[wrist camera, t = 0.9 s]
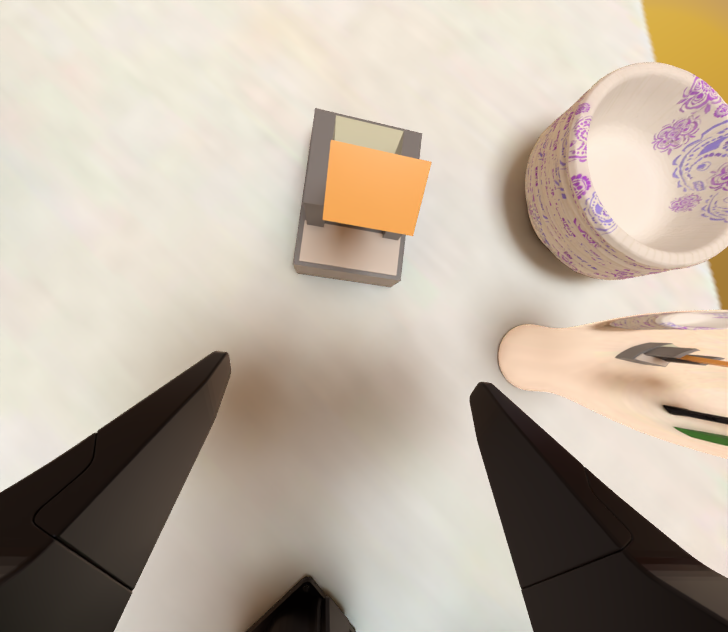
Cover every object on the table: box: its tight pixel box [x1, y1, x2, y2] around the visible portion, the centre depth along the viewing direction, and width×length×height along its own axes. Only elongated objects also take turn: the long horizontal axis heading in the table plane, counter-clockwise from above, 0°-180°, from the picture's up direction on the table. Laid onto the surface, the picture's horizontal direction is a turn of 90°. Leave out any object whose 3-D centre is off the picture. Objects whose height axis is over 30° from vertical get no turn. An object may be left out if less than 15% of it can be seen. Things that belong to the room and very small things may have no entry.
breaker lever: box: [323, 140, 431, 236], centre depth 15 cm, size 3×4×11 cm
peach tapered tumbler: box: [498, 310, 728, 459], centre depth 17 cm, size 7×7×15 cm
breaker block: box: [293, 108, 422, 287], centre depth 20 cm, size 12×8×6 cm, turn 172°
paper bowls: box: [525, 62, 728, 280], centre depth 22 cm, size 15×15×8 cm
